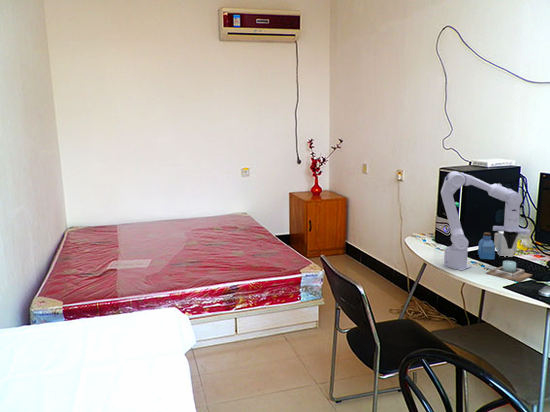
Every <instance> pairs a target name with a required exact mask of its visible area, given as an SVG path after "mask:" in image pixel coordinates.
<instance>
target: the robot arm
mask: <svg viewBox="0 0 550 412" xmlns="http://www.w3.org/2000/svg"><path fill="white" fill-rule="evenodd" d="M502 185H503V184H501V183H500V182H499V183H493V184H490V183H487V182H485V181H484V180H481V179H479V178H476V177H475V176H473V175H470V174H467V173H463V172H461V173H460V172H459V171H458V170H452V171H449V173H447V175H446V176H445V177H444V180H443V184H442V186H441V189H440V195H441V199H442V204H443V206H444V210H445V213H446V214H445V215H446V217H447V221H448V225H449V228H450V241H451V243H452V244H451V245H449V246H446V247H445V250H444V253H443V259H444V260H443V261H444V262H443V265H442V266H443V267H446V268H451V269H454V270H458V271H464V270H466V269H468V268H471V267H472V265H470V264H468V254H469V253H468V249H469V248H468V247H469V240H468V239H467V237H466V236H465V234H464V230H463V228H462V224H461V221H460V217H459V213H458V210H457V206H456V201H455V199H454V194H455V193H456V192H457V190H459V189H461V188H462V187H463V186H465V187H467V186H474V187H476V188H477V189H481V190H484V191H486V192H487V193H488V196H490V197H492V198H495V199H498V200H500V201H501V202H505V205H504V218H503V219H504V220H503V221H504V222H503V225H493V226H492V231H494V232H495V231H497V232H498V231H503V232H504V233H503V236H504V237H505V239H506V242H507V246H508V249H512V247H513V244H514V241H515V239H516V237H517V238H518V235H519V234H520V235H525V236H530V235H531V229H526V228H521V227H519V226H520V211H521V208H520V207H521V204H522V203H523V197H522V195H521V194H520V193H519V192H517V191H515V190H513V189H512V188H507V187H504V186H502Z"/></svg>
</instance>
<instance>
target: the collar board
mask: <svg viewBox="0 0 550 412" xmlns="http://www.w3.org/2000/svg"><path fill="white" fill-rule="evenodd" d="M486 274H487V275H490V276H492V277H496V278H502V279H505V280H509V281H513V282H517V283H521V282H523V281H525V280H527V279H528V278H531V277H533V273H532V274H531V273H527V272H525V269H522V268H518V267H516V273H514V274H512V273H508V272H504V271H503V265H502V266H499V267H496V268H493V269H491V270H489V271H487V272H486Z"/></svg>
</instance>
